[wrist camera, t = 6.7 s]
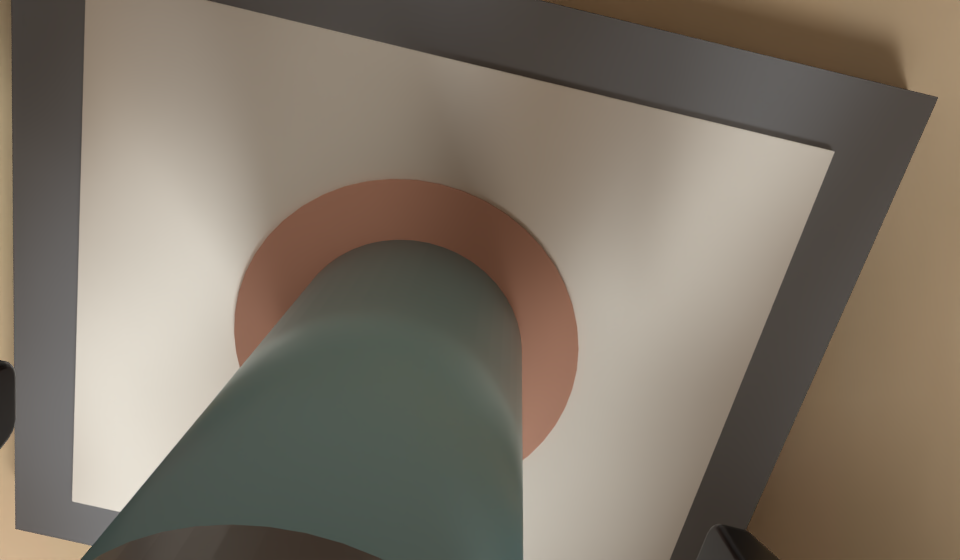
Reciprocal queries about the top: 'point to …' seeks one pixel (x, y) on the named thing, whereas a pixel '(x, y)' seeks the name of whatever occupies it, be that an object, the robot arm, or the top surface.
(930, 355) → the top surface
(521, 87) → the drawing board
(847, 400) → the top surface
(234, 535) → the cylinder
